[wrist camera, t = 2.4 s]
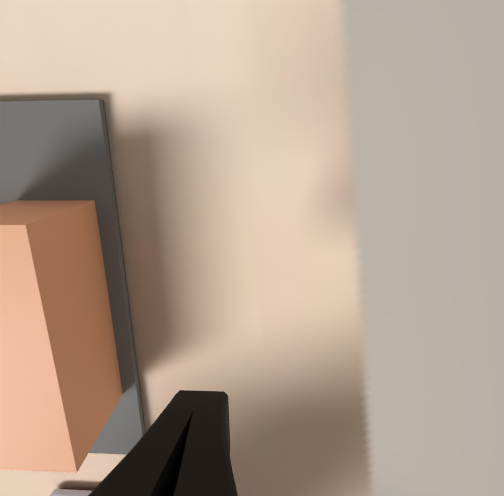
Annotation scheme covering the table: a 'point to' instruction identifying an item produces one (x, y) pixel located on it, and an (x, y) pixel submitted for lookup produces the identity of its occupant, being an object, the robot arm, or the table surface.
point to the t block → (53, 335)
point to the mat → (77, 188)
